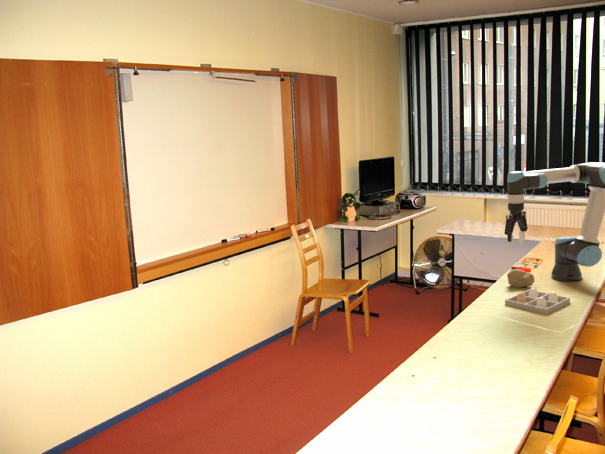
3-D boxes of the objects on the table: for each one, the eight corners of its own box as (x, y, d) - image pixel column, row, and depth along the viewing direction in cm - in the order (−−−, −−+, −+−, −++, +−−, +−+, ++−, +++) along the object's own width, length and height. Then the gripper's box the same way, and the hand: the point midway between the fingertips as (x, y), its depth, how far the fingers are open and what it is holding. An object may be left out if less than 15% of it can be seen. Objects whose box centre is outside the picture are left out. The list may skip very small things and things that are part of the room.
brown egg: (519, 301, 258) (519, 290, 257) (527, 303, 255) (527, 292, 254) (515, 304, 256) (514, 292, 255) (522, 306, 252) (522, 294, 251)
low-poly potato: (500, 286, 286) (507, 282, 275) (503, 267, 289) (510, 263, 278) (529, 293, 284) (536, 289, 273) (531, 274, 287) (539, 269, 276)
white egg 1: (531, 296, 264) (531, 285, 263) (539, 298, 260) (539, 287, 259) (526, 298, 262) (526, 288, 260) (534, 300, 258) (534, 289, 257)
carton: (529, 295, 268) (529, 289, 268) (570, 303, 252) (570, 297, 251) (505, 305, 257) (505, 299, 256) (546, 315, 240) (546, 309, 239)
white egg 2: (539, 306, 250) (539, 295, 249) (548, 308, 247) (548, 296, 245) (534, 308, 248) (534, 297, 246) (543, 310, 244) (543, 299, 243)
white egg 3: (551, 301, 256) (551, 289, 255) (559, 303, 252) (559, 291, 251) (546, 303, 253) (546, 291, 252) (554, 305, 250) (554, 293, 249)
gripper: (521, 198, 273) (521, 240, 277) (496, 205, 261) (496, 248, 265) (535, 199, 267) (535, 242, 271) (509, 206, 255) (510, 250, 259)
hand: (516, 245), depth 268 cm, fingers open, 9 cm apart
